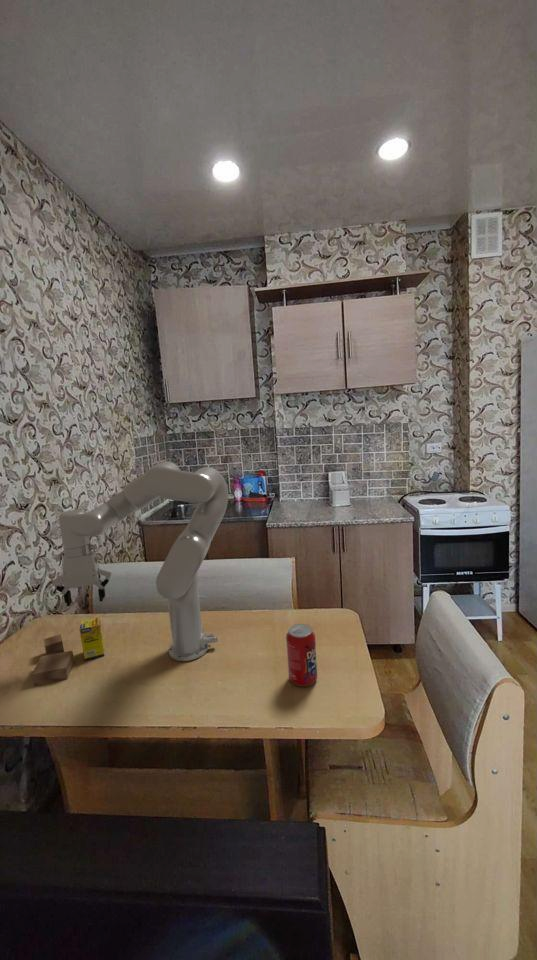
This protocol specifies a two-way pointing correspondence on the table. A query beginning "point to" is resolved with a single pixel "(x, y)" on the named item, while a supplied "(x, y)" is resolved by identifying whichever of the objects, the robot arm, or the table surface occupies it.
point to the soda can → (301, 655)
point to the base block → (53, 668)
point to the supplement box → (92, 638)
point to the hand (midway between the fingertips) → (85, 601)
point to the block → (53, 645)
